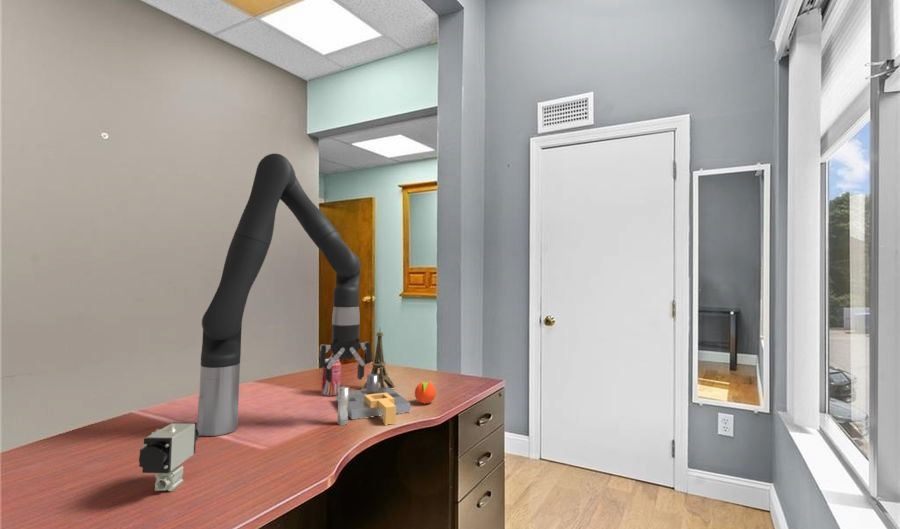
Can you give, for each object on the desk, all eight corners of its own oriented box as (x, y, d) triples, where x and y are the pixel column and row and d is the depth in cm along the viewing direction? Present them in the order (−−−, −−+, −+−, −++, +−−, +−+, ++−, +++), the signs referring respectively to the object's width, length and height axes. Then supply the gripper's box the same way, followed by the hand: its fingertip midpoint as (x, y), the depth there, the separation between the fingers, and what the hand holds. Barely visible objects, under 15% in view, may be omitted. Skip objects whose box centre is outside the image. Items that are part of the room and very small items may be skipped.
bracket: (378, 426, 120) (378, 408, 120) (363, 411, 133) (364, 394, 133) (402, 423, 123) (403, 405, 123) (386, 408, 136) (386, 392, 136)
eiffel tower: (358, 392, 154) (360, 322, 155) (370, 385, 165) (372, 319, 165) (386, 395, 152) (388, 323, 153) (396, 387, 162) (398, 320, 163)
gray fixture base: (351, 420, 125) (352, 385, 125) (336, 401, 143) (337, 370, 143) (410, 412, 133) (410, 379, 133) (388, 395, 151) (389, 366, 151)
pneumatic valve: (198, 473, 89) (200, 414, 90) (162, 503, 78) (165, 435, 78) (170, 473, 89) (173, 414, 90) (130, 503, 78) (133, 435, 78)
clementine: (434, 407, 139) (435, 385, 139) (413, 407, 139) (413, 384, 139) (435, 400, 147) (436, 379, 147) (415, 400, 147) (415, 378, 147)
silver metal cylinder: (338, 425, 120) (340, 389, 120) (336, 422, 122) (337, 386, 123) (348, 424, 121) (350, 388, 121) (346, 421, 123) (347, 386, 124)
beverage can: (321, 392, 153) (322, 358, 153) (339, 391, 155) (340, 357, 155) (321, 397, 147) (322, 361, 147) (340, 396, 149) (341, 361, 149)
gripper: (322, 325, 116) (321, 386, 116) (374, 323, 122) (373, 380, 122) (317, 322, 123) (316, 379, 122) (366, 320, 129) (365, 375, 129)
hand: (344, 380), depth 122 cm, fingers open, 8 cm apart
